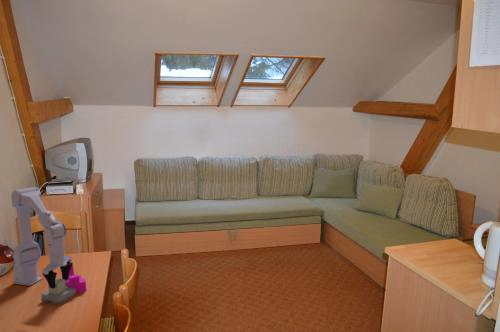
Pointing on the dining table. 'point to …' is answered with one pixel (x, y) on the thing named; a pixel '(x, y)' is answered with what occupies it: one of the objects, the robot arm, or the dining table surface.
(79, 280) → the toy block
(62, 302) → the grey square slab
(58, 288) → the sage cube
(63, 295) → the slate top slab
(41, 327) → the dining table surface
